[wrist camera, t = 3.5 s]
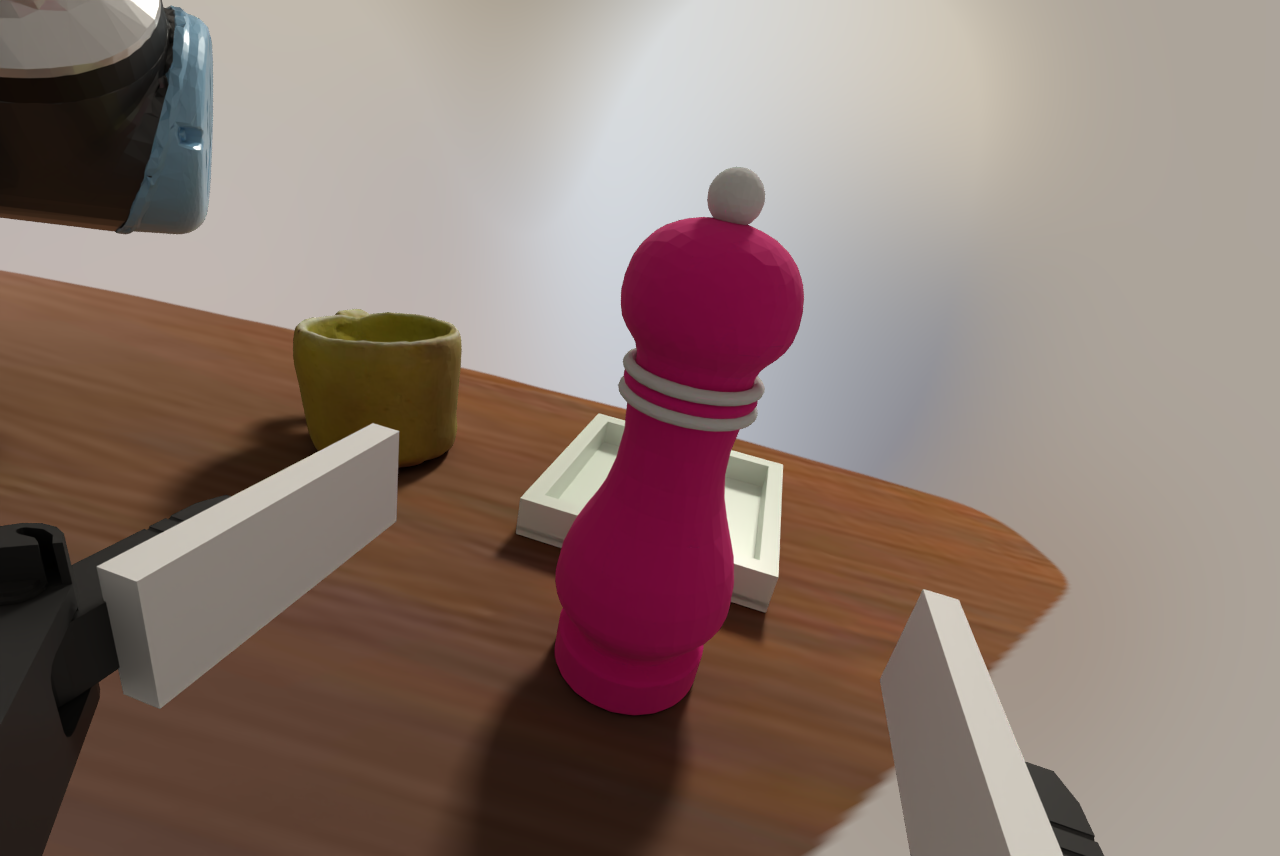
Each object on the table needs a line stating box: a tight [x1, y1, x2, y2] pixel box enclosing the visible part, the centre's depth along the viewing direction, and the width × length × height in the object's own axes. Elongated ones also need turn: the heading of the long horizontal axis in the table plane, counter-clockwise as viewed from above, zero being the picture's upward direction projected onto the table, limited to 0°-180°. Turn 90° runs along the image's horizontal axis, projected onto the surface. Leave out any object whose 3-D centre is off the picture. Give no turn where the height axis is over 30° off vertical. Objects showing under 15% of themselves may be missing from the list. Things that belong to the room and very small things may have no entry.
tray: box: [516, 414, 783, 613], centre depth 37 cm, size 14×14×2 cm
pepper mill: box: [555, 167, 804, 715], centre depth 22 cm, size 7×7×20 cm
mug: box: [293, 309, 461, 468], centre depth 38 cm, size 12×10×10 cm
